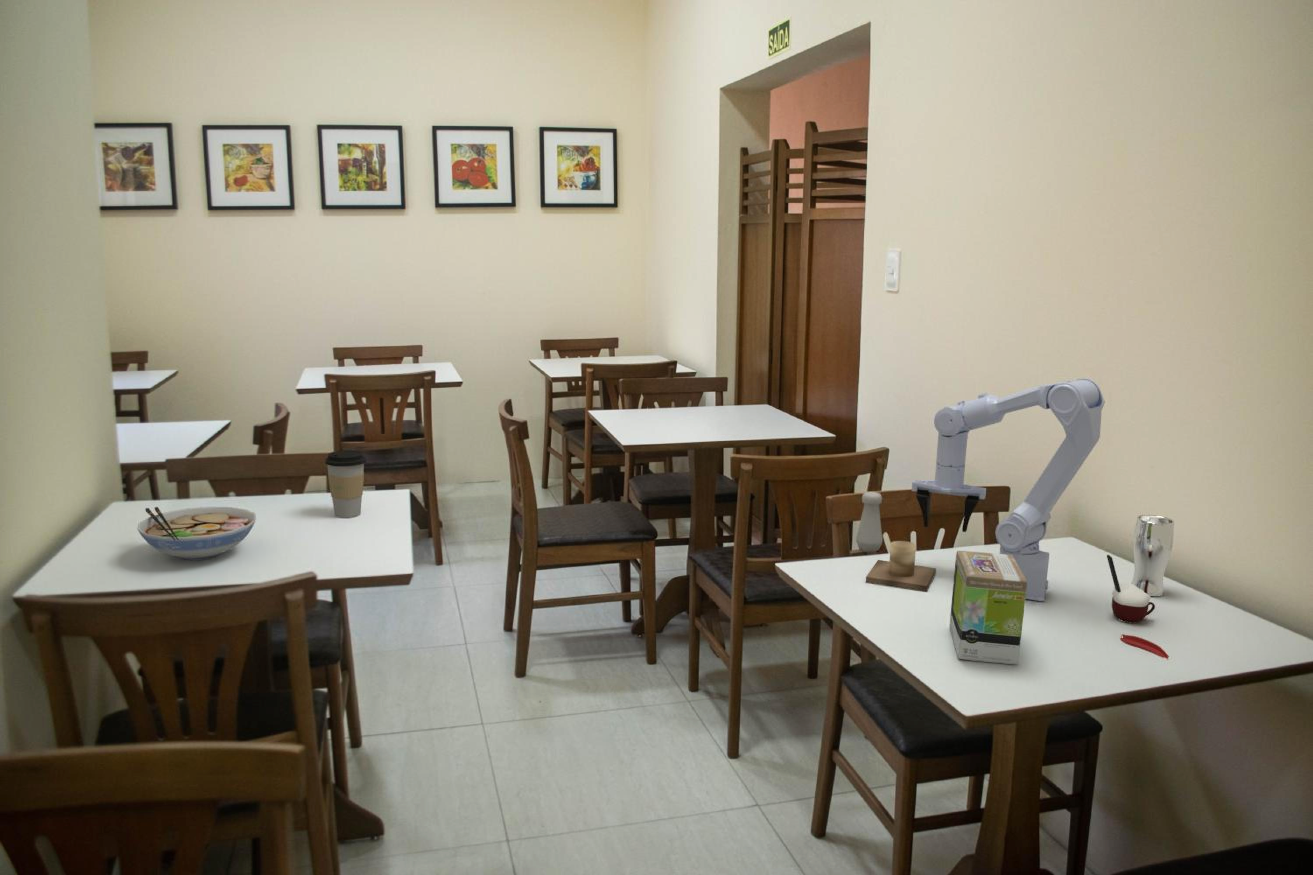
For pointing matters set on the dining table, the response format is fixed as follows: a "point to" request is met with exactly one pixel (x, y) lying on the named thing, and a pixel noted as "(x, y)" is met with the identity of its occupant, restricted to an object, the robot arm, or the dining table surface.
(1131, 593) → the cocoa
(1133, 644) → the cayenne pepper
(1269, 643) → the dining table surface
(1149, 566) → the beer glass
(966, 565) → the tea box
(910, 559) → the oak cylinder
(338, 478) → the coffee cup
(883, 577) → the walnut board
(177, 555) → the ramen bowl
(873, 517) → the salt shaker
